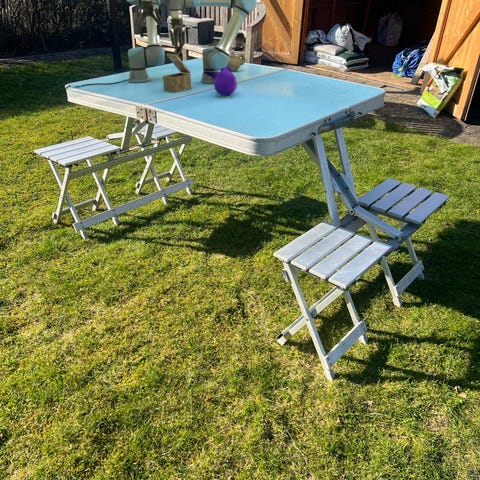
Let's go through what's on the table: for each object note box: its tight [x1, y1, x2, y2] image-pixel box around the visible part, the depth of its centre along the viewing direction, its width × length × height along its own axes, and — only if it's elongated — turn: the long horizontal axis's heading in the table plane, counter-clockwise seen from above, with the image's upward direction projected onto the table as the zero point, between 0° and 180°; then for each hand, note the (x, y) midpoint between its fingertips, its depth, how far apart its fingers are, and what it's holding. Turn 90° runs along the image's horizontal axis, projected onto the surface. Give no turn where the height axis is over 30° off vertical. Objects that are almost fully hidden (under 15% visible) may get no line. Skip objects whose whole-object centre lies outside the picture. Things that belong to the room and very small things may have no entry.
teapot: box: [226, 51, 246, 72], centre depth 364 cm, size 21×12×15 cm, turn 120°
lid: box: [165, 48, 192, 74], centre depth 305 cm, size 17×10×8 cm
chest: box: [162, 72, 192, 93], centre depth 309 cm, size 16×10×10 cm, turn 136°
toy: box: [202, 67, 238, 97], centre depth 293 cm, size 16×18×27 cm
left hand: (150, 36), depth 298 cm, fingers open, 13 cm apart
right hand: (179, 56), depth 303 cm, fingers closed on lid, 2 cm apart
